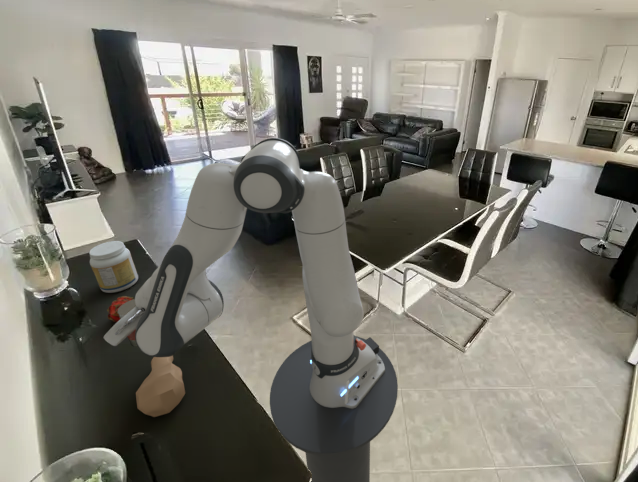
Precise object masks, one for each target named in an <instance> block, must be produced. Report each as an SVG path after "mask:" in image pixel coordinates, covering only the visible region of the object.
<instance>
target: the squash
mask: <svg viewBox="0 0 638 482" xmlns="http://www.w3.org/2000/svg"><path fill="white" fill-rule="evenodd" d="M173 361H174V355H173V356H170V357H152V359H151V361H150V367H151V371H150V373H149V375H148V376H146V378H145V379H144V380H143V381H142V383H141V384H140V386H139V388H138V389H137V390H136V392H135V398H136V407H137V410H139V412H141V413H143V414H144V415H147V416H150V417H152V418H156V417H160V416H163V415H167V414H169V413H171V412H172V411H173V410H174V409H175V408H176V407H177V406H178V405H179V404H180V402H181V401H182V400H183V398H184V397H185V396H186V395H185V394H186V390H185V384H184V380H183V371H182V369H181V368H180V367H179V366H177V365H176V364H174V363H173Z"/></svg>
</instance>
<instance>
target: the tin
mask: <svg viewBox="0 0 638 482" xmlns="http://www.w3.org/2000/svg"><path fill="white" fill-rule="evenodd" d="M134 307H136V303H135V298H134V299H133V300H130V301H128V302H126V303H124V304H123V305H121V306H120V307H119V309H118V311H117V312H118V315H119V317H120V319H121V318H122V317H124V316H125V315H126V314H127V313H128V312H130V311H131V310H132V309H133V308H134ZM135 332H136V329H135V330H134V331H133V332H132V333H131V334H130V335H129V336H127V337H126V338H127V339H128V341H129V343H130V345H131V347H133V348H138V346H137V344H136V340H135Z"/></svg>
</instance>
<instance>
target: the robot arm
mask: <svg viewBox="0 0 638 482" xmlns="http://www.w3.org/2000/svg"><path fill="white" fill-rule="evenodd" d="M248 210H250V211H252V212H256V213H261V214H273V213H279V214H280V213H281V214H289V213H291V214H292V218H293V224H294V229H295V235H296V240H297V241H296V242H297V244H298V251H299V256H300V260H301V263H302V270H301V272H302V285H303V293H304V298H305V299H304V300H305V304H306V311H307V318H308V322H309V328H310V338H311V340H312V348H311V359H312V360H310V363H312V367H313V373H312V378H311V381H310V393H311V395H312V397H313V399H314V400H315V401H316V402H317V403H319V404H320V405H322V406H325V407H329V408H336V407H346V408H351V409H354V408H356V407H357V406H358V405H359V403H360V402H361V401H362V400H363V398H364V397H365V396H366V395H367V393H368V392H369V391H370V390H371V388H372V387H373V386H374V385H375V383H376V382H377V381H378V380H379V378H380V377H381V376H382V375H383V373H384V372H385V367H384V363H383V361H382V360H381V358H380V357H379V356H378V355H377V353H378V352H379V348H380V345H379V344H378V343H377V342H376V341H375V340H374V339H373V338H372V336H371V337H370V336H369V337H367V338H366V340H365V341H362V340H360V339H358V338H356V337H355V336H356V335H354V332H355V331H356V330H357V329H358V328H359V327H360V326H361V324H362V322H363V320H364V316H365V312H364V307H363V303H362V299H361V295H360V291H359V285H358V281H357V277H356V271H355V268H354V265H353V264H354V263H353V260H352V257H351V253H350V248H349V242H348V241H349V240H348V232H347V225H346V224H347V223H346V215H345V209H344V203H343V199H342V195H341V191H340V188H339V186H338V183H337V181H336V179H335V177H333V176H332V175H331V174H329V173H326V172H323V171H307V170H304V169H302V168H301V158H300V154H299V153H298V150H297V149H296V147H295V146H294V145H293V144H292V143H290V142H289V141H288V140H286V139H283V138H279V137H269V138H265V139H263V140H261V141H259V142H257V143H256V144H255V145H254V146H253V147H252V148H251V149H250V150H249V151H248V152H247V153H245V155H244V156H242V158H241V159H240V163H239V164H229V163H224V162H215V163H213V162H212V163H210V164H207V165H205V166H204V167H202V168H201V169H200V170H199V171H198V173H197V175H196V177H195V179H194V182H193V184H192V187H191V191H190V193H189V196H188V201H187V205H186V210H185V215H184V220H183V221H182V224H181V227H180V229H179V232H178V233H177V236H176V238H175V239H174V241H173V243H172V245H171V246H170V248H169V249H168V250H167V251H166V253H165V255H164V257H163V259H162V261H161V263H160V265H159V266H158V267H156V269H155V270H154V271H153V273H152V274H151V276H150V277H148V279H147V280H146V281H144V283H143V284H142V285H141V286H140V288H139V289H138V290H137V291H136V293H135V296H134V299H135V303H136V307H134V308H133V309H132V310H131V311H130V312H128V313H127V314H126V315H125V316H124V317H122V318H121V319H120V320H119V321H118V322H117V323H116V322H115V323H114V324H113V326H112V327H110V329H109V330H108V331H107V332H106V333H105V334H104V335H103V339H104V341H105V342H107V343H108V344H109V345H111V346H113V347H117V346H119V345H120V344H121V343H122V342H123V341H124V340H125V339H127V338H128V337H127V336H129V335H130V334H131V333H132V332H133V331H134V330H135V329H136V332H135V340H136V344H137V346H138V347H137V348H138V349H139V350H140V352H142V354H144V355H145V356H148V357H152V358H153V357H170V356H173V357H174V355H175V354H176V353H177V352H178V351H180V350H181V348H183V347H184V346H185V344H188V342H189V341H191V340H192V339H193V338H195V337H196V336H197V335H198V334H200V333H201V332H203V330H205V329H206V328H207V327H208V326H210V325H211V324H212V323H213V322H215V321H216V320H217V319H219V318H220V317H221V316H222V314H223V312H224V306H225V304H224V303H225V302H224V297H223V293H222V291H221V290H220V288H219V287H218V286H217V285H216V284H215V283H214V282H213V281H211V280H210V279H209V278H208V276H207V269H208V268H209V267H210V266H212V265H213V264H214V263H216V262H217V261H218V260H220V259H221V258H222V257H223V256H225V255H226V254H228V253H229V252H230V251H231V250H232V249H233V248H234V247H235V245H236V244H237V242H238V240H239V238H240V236H241V234H242V231H243V227H244V223H245V219H246V215H247V211H248ZM379 363H381V364H379ZM355 399H357V400H356V401H355Z"/></svg>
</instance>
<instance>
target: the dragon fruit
mask: <svg viewBox="0 0 638 482" xmlns="http://www.w3.org/2000/svg"><path fill="white" fill-rule="evenodd" d="M133 299H135V296H127V295H122V296H118V297H117V299H114V300H112V302H111V305H109V307H108V308H107V309H106V311H107V319H108V320H111V322H113V323H115V324H116V323H117V322H118V321H119V320H120V317H119V315H118V312H117V311H118V309H119V307H120V306H121V305H123V304H124V303H126V302H128V301H130V300H133Z"/></svg>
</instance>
